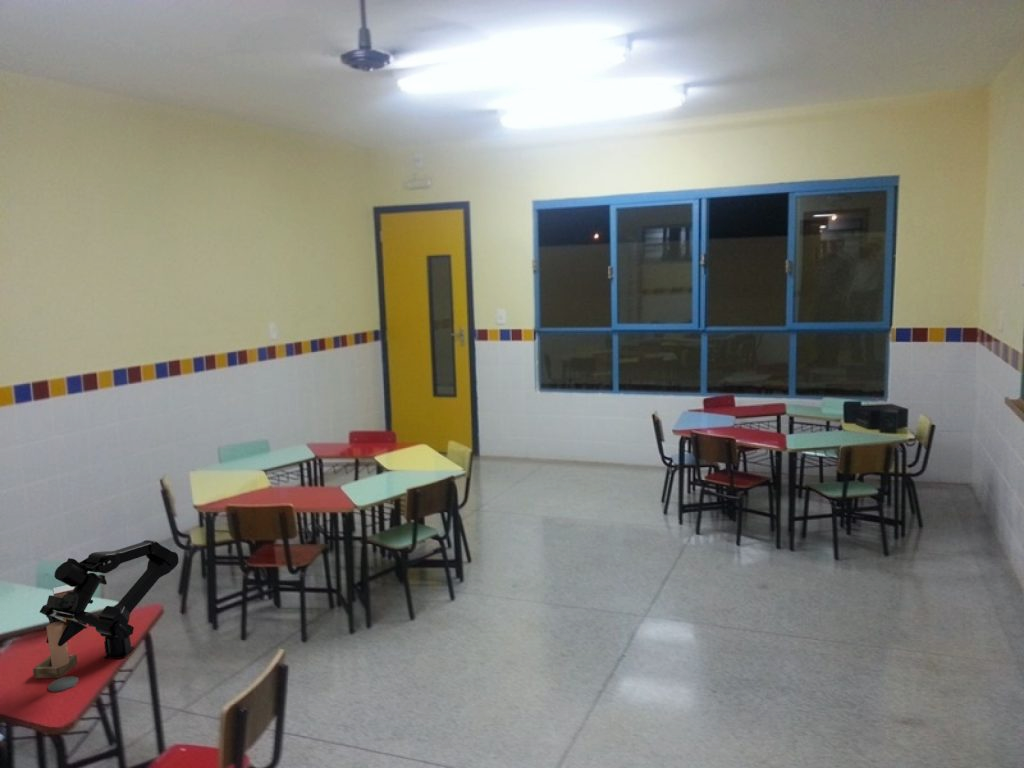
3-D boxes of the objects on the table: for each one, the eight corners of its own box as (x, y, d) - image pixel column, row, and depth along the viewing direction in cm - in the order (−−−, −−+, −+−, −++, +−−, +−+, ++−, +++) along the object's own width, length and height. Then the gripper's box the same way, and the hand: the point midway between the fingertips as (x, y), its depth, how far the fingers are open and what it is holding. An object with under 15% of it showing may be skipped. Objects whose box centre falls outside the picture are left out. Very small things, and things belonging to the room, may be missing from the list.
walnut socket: (77, 663, 233) (76, 654, 233) (60, 677, 225) (59, 668, 225) (52, 664, 234) (50, 654, 233) (34, 678, 226) (33, 668, 225)
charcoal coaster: (83, 677, 225) (83, 676, 225) (68, 691, 217) (67, 690, 217) (59, 677, 225) (59, 676, 225) (42, 691, 218) (42, 690, 218)
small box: (58, 630, 257) (53, 593, 255) (57, 623, 262) (52, 587, 261) (85, 623, 262) (80, 587, 260) (83, 616, 267) (79, 581, 265)
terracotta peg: (69, 658, 223) (63, 620, 222) (69, 664, 220) (64, 625, 218) (52, 662, 221) (46, 624, 219) (52, 669, 217) (46, 630, 216)
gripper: (41, 578, 224) (9, 630, 216) (85, 586, 217) (54, 640, 208) (68, 592, 232) (39, 643, 224) (112, 600, 225) (83, 653, 217)
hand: (53, 644), depth 218 cm, fingers closed on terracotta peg, 4 cm apart
